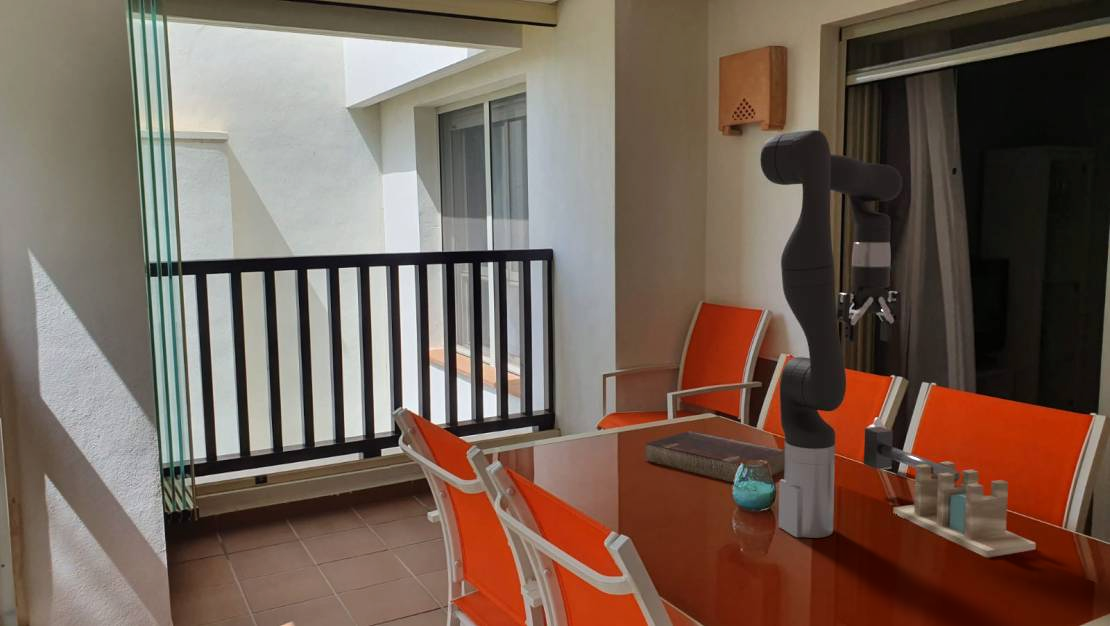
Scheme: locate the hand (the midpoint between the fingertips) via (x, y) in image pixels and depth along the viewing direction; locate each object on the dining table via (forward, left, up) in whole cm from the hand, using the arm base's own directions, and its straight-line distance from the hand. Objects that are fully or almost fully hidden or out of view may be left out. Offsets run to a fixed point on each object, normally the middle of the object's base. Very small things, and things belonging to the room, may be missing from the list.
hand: (868, 341), depth 178 cm
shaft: (+5, -8, -28) cm, 29 cm away
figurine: (+18, +18, -34) cm, 42 cm away
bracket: (+5, -22, -34) cm, 41 cm away
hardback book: (-17, +33, -34) cm, 51 cm away
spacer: (+5, -24, -33) cm, 41 cm away
